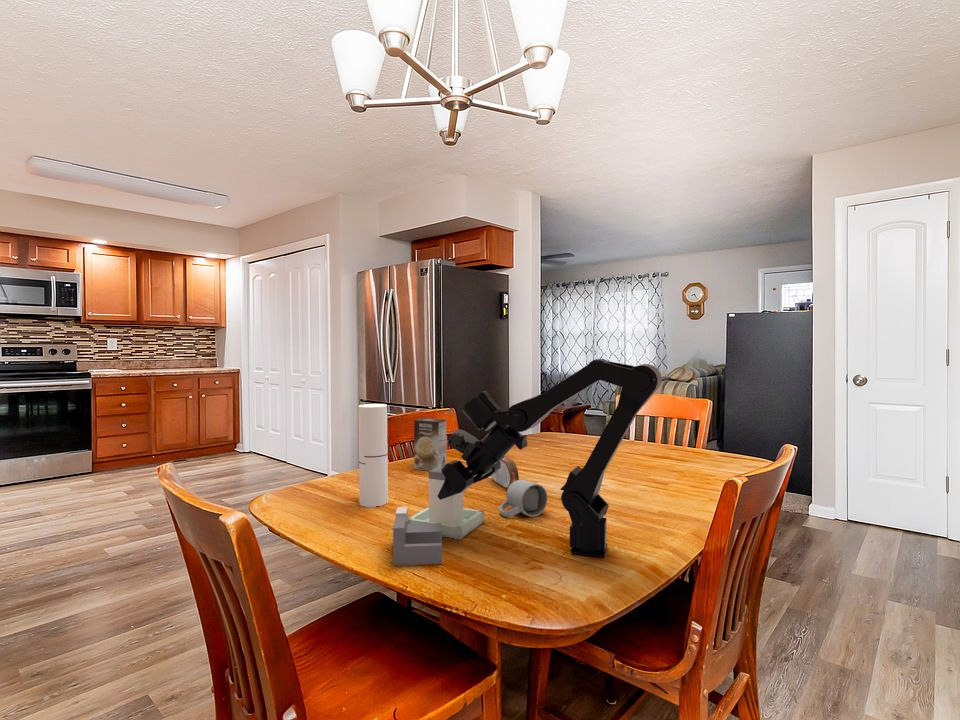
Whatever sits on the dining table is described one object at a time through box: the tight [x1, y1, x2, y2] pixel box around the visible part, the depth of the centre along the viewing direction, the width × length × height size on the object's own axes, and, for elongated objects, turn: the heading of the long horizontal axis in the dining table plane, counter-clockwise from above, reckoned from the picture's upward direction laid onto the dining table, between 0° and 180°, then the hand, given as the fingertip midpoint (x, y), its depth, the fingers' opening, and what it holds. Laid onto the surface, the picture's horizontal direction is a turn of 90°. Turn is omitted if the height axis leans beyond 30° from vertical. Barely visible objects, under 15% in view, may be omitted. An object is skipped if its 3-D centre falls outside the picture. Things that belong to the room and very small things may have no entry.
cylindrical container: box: [357, 403, 389, 508], centre depth 136 cm, size 7×7×25 cm
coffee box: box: [413, 417, 447, 472], centre depth 172 cm, size 9×6×16 cm
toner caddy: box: [428, 466, 464, 526], centre depth 119 cm, size 6×5×12 cm
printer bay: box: [392, 506, 443, 567], centre depth 104 cm, size 9×12×7 cm
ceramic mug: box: [498, 479, 548, 518], centre depth 128 cm, size 11×8×8 cm
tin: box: [490, 455, 520, 490], centre depth 152 cm, size 15×3×8 cm, turn 22°
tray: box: [408, 506, 485, 541], centre depth 119 cm, size 13×12×2 cm
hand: (449, 492), depth 118 cm, fingers open, 9 cm apart
